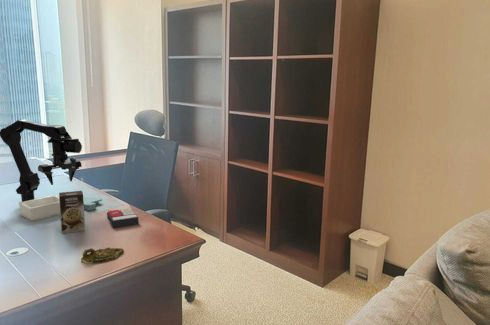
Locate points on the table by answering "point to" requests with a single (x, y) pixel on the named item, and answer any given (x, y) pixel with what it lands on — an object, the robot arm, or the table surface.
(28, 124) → the robot arm
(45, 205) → the tub
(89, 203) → the lid
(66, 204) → the coffee box
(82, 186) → the table surface
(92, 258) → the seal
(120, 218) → the black box
